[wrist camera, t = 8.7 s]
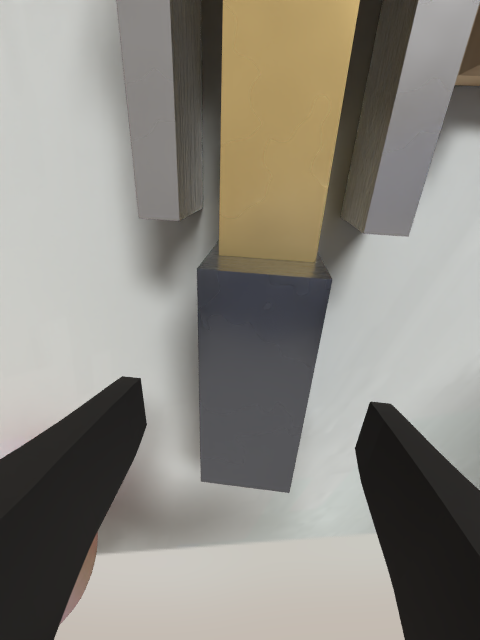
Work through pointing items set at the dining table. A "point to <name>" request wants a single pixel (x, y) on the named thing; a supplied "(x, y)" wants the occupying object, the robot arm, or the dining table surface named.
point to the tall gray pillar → (256, 364)
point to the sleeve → (374, 124)
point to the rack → (471, 57)
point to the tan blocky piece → (280, 122)
